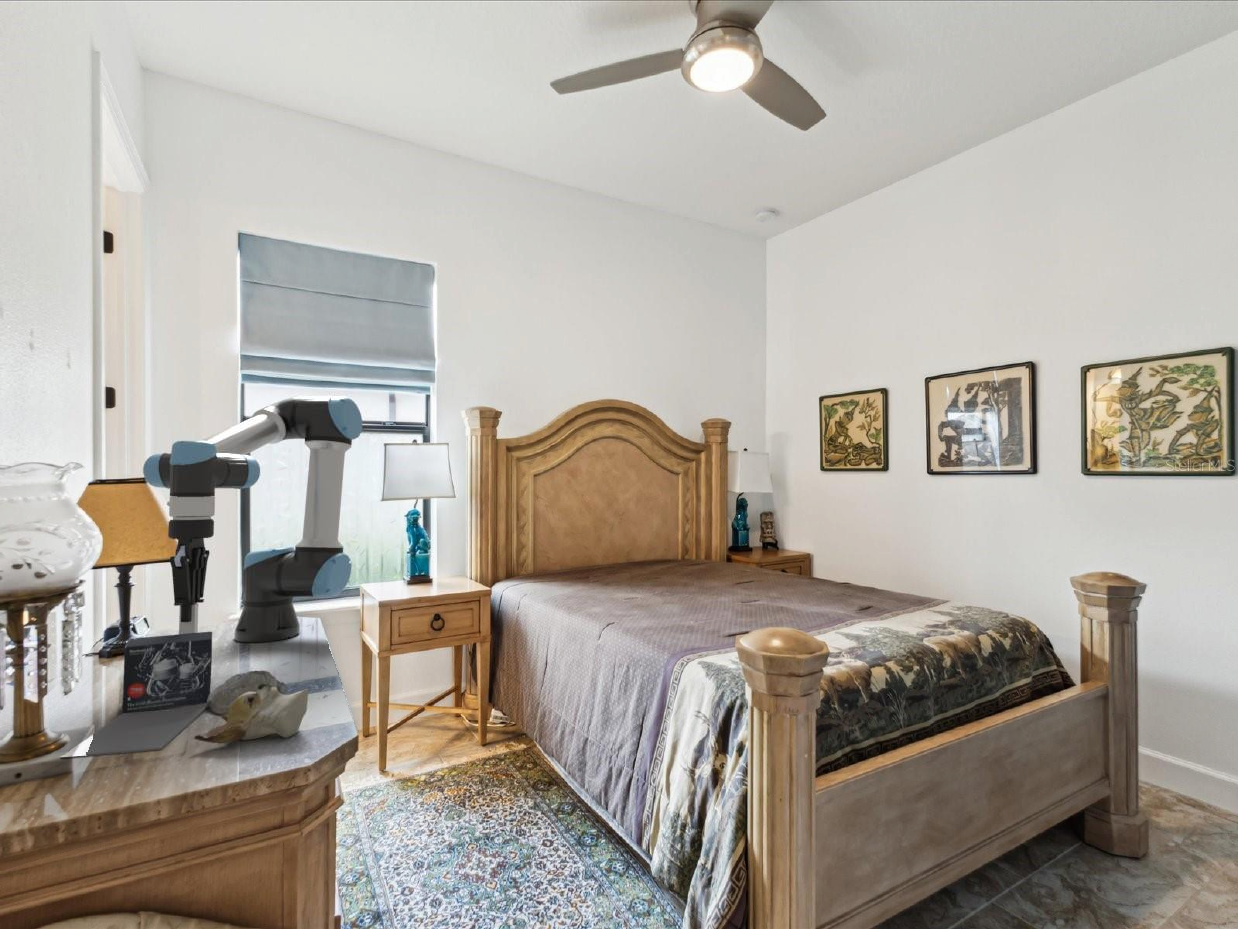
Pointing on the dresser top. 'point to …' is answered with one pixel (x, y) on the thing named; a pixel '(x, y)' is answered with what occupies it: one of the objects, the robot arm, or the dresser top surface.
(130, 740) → the mat
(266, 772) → the dresser top surface
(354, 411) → the robot arm
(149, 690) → the small box
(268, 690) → the ceramic sculpture
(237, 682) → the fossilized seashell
